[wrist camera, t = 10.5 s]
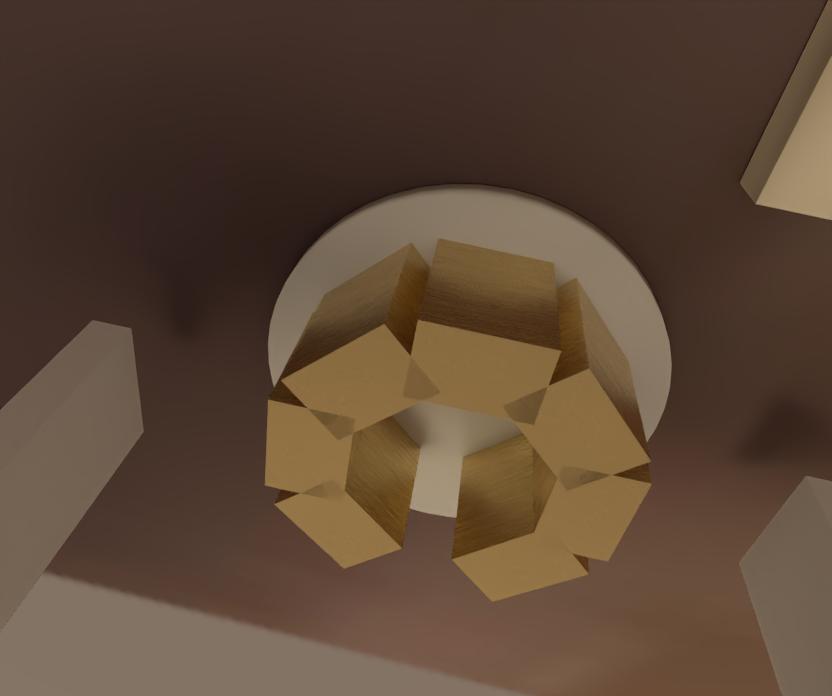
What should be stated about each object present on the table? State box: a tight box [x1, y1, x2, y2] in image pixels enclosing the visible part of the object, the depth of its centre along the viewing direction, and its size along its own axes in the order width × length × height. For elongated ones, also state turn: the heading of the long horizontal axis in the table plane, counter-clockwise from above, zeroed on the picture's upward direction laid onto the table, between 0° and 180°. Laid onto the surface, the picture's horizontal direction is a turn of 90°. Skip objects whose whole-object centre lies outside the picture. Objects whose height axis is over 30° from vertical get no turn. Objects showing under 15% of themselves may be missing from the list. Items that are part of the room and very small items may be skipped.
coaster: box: [268, 184, 672, 517], centre depth 15 cm, size 9×9×1 cm
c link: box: [265, 238, 652, 602], centre depth 13 cm, size 7×7×3 cm
